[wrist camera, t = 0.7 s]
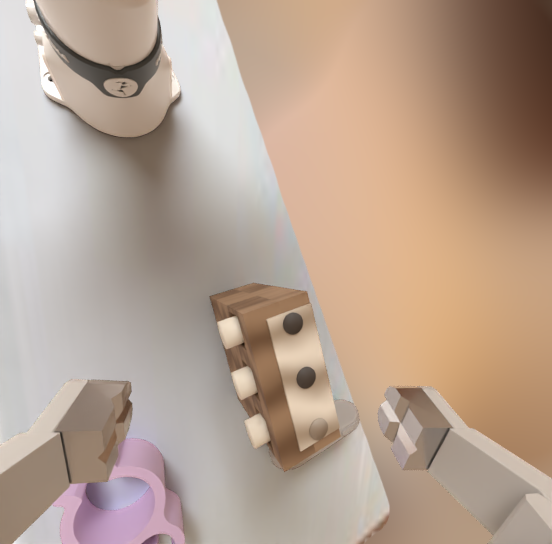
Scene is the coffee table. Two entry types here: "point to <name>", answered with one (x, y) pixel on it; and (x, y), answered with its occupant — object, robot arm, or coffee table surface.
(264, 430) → the button
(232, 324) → the button
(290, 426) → the console
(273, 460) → the game controller
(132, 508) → the clip
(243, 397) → the button middle
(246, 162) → the coffee table surface
